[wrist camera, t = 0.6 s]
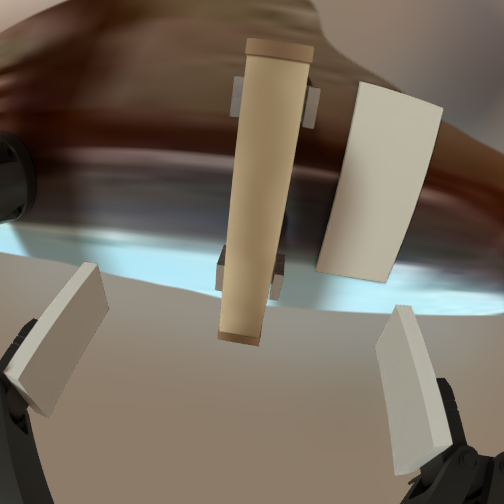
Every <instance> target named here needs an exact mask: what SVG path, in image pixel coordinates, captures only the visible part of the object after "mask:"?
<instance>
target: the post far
mask: <svg viewBox="0 0 504 504" xmlns="http://www.w3.org/2000/svg"><path fill="white" fill-rule="evenodd" d="M225 255H226V245H224V246H223V249H222V252H221V255H220V257H219V260H218V263H217V270H216V286H215V290H218V291H222V290H223V278H224V266H225ZM284 261H285V255H283V254H277V253H276V258H275V263H274V268H273V273H272V278H271V283H270V284H271V291H270V299H271V300H277V301H278V298H279V294H280V289H281V285H282V281H283V276H284Z"/></svg>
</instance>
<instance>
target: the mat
mask: <svg viewBox="0 0 504 504" xmlns="http://www.w3.org/2000/svg"><path fill="white" fill-rule="evenodd" d="M442 112H443V108H441V107H439V106H436V105H433V104H431V103H428V102H425V101H423V100H420V99H417V98H414V97H411V96H408V95H405V94H402V93H399V92H396V91H393V90H389V89H386V88H383V87H379V86H376V85H372V84H368V83H365V82H361V81H360V82H359V88H358V93H357V98H356V103H355V108H354V113H353V118H352V123H351V128H350V133H349V137H348V142H347V147H346V151H345V156H344V160H343V164H342V169H341V173H340V177H339V181H338V185H337V190H336V194H335V198H334V202H333V206H332V210H331V213H330V217H329V221H328V225H327V229H326V232H325V236H324V240H323V243H322V247H321V251H320V254H319V258H318V261H317V265H316V268H315V270H316V272H322V273H328V274H335V275H341V276H347V277H353V278H360V279H366V280H372V281H378V282H386V280H387V277H388V275H389V273H390V270H391V268H392V266H393V263H394V261H395V259H396V256H397V254H398V251H399V249H400V246H401V244H402V241H403V238H404V236H405V233H406V231H407V228H408V225H409V223H410V220H411V217H412V214H413V211H414V209H415V206H416V203H417V200H418V197H419V194H420V191H421V188H422V185H423V182H424V178H425V175H426V172H427V169H428V165H429V162H430V158H431V155H432V151H433V148H434V144H435V140H436V137H437V133H438V129H439V125H440V121H441V116H442Z"/></svg>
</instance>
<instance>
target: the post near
mask: <svg viewBox="0 0 504 504" xmlns="http://www.w3.org/2000/svg"><path fill="white" fill-rule="evenodd" d="M243 84H244V76H234V84H233V93H232V102H231V111H230V116H232V117H240V109H241V101H242V92H243ZM320 90H321V89H320V88H318V87H314V86H308V85H306V91H305V97H304V103H303V109H302V115H301V121H300V122H302V127H306V128H311V129H314V124H315V119H316V113H317V108H318V102H319V96H320Z"/></svg>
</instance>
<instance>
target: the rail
mask: <svg viewBox="0 0 504 504" xmlns="http://www.w3.org/2000/svg"><path fill="white" fill-rule="evenodd" d="M313 52H314V47H311V46H306V45H300V44H294V43H287V42H280V41H273V40H264V39H255V38H247V44H246V52H245V54H247V60H246V68H245V76H244V84H243V92H242V101H241V109H240V117H239V126H238V135H237V144H236V153H235V162H234V172H233V181H232V191H231V201H230V212H229V222H228V233H227V244H226V255H225V266H224V278H223V290H222V303H221V316H220V327H219V330H218V339H220V340H225V341H231V342H236V343H242V344H248V345H254V346H259V342H260V336H261V329H262V322H263V317H264V312H265V308H266V303H267V298H268V293H269V288H270V283H271V278H272V273H273V268H274V263H275V258H276V253H277V247H278V242H279V237H280V232H281V227H282V221H283V216H284V211H285V205H286V200H287V194H288V189H289V184H290V178H291V172H292V167H293V161H294V156H295V150H296V144H297V138H298V133H299V127H300V121H301V115H302V109H303V103H304V97H305V91H306V84H307V78H308V72H309V65H310V64H311V63H312V59H313Z"/></svg>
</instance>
